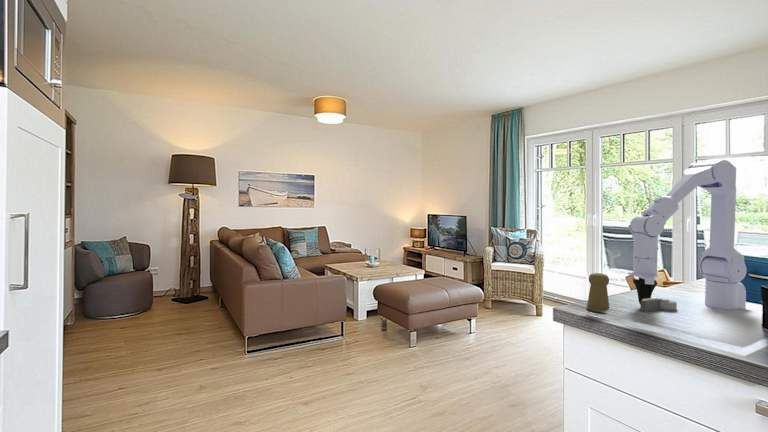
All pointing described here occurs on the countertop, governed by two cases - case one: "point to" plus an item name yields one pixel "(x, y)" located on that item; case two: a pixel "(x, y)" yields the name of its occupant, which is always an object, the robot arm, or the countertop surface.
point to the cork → (598, 292)
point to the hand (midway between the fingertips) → (644, 304)
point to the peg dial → (657, 304)
